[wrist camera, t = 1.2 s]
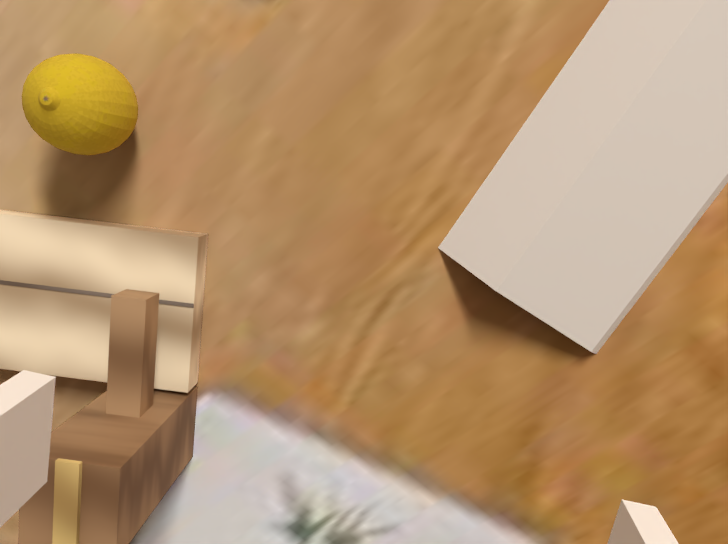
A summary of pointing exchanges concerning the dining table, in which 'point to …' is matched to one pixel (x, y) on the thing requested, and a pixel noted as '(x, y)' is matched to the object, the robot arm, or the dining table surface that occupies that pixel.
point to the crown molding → (606, 169)
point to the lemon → (80, 104)
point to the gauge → (115, 443)
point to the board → (96, 294)
